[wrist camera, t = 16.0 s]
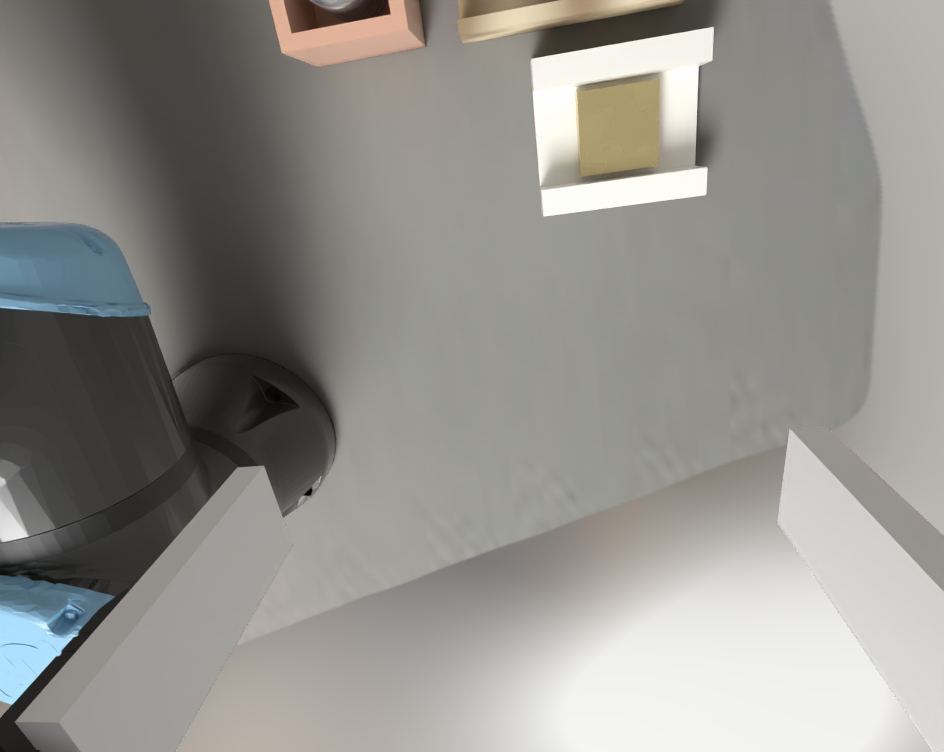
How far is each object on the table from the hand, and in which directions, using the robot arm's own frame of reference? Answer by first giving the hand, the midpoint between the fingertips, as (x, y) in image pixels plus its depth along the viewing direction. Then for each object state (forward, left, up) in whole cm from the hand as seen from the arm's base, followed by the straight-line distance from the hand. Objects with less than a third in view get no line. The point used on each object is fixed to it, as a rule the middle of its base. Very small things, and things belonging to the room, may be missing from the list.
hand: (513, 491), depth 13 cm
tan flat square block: (+7, +8, -26) cm, 28 cm away
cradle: (+7, +8, -27) cm, 29 cm away
